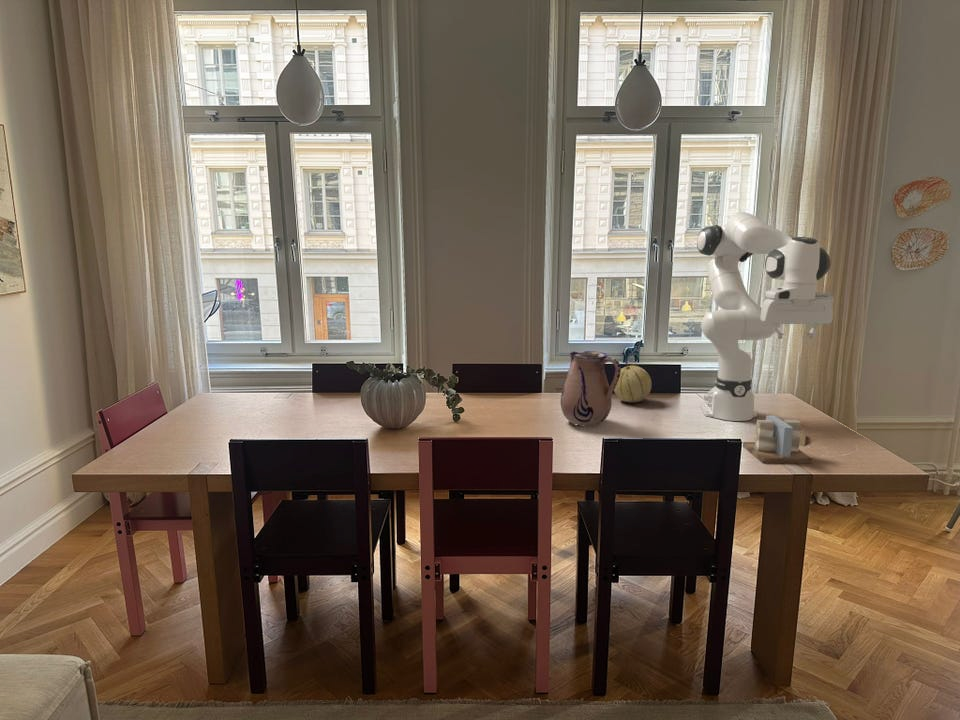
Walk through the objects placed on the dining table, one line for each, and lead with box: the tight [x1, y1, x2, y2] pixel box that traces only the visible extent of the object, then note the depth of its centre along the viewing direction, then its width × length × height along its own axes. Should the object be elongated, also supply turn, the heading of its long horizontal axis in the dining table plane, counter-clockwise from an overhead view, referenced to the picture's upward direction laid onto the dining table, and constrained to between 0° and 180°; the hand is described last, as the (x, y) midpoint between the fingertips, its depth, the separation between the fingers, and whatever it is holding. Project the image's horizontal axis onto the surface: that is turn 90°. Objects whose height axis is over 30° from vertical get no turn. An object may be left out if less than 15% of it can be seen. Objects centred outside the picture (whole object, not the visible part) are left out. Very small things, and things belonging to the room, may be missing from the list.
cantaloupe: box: [613, 365, 652, 403], centre depth 239 cm, size 15×15×15 cm
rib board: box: [742, 419, 813, 464], centre depth 182 cm, size 14×14×10 cm
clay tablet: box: [799, 431, 807, 447], centre depth 198 cm, size 14×10×3 cm
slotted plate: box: [765, 415, 793, 457], centre depth 181 cm, size 12×2×9 cm, turn 179°
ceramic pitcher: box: [560, 350, 622, 427], centre depth 210 cm, size 18×21×25 cm
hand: (794, 338), depth 183 cm, fingers open, 8 cm apart
